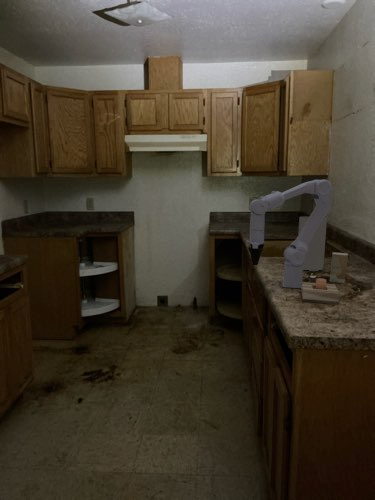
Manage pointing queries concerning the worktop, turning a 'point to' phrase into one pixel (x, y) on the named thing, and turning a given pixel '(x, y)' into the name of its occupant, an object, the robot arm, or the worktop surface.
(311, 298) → the socket block
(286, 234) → the worktop surface
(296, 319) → the worktop surface
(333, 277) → the skincare box
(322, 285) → the peg
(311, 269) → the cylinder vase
